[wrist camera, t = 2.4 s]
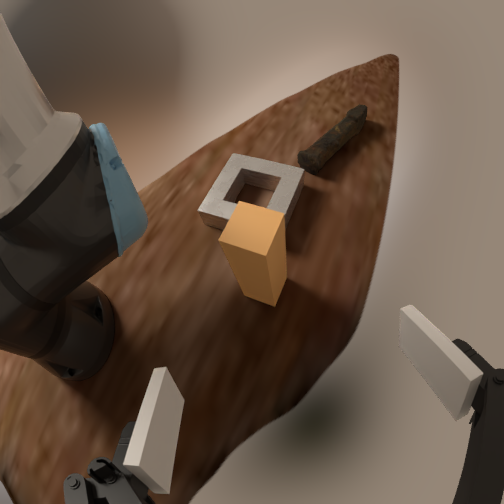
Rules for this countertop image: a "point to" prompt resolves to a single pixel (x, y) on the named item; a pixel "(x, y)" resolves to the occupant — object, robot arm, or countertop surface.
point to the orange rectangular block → (256, 251)
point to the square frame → (257, 174)
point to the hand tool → (332, 140)
